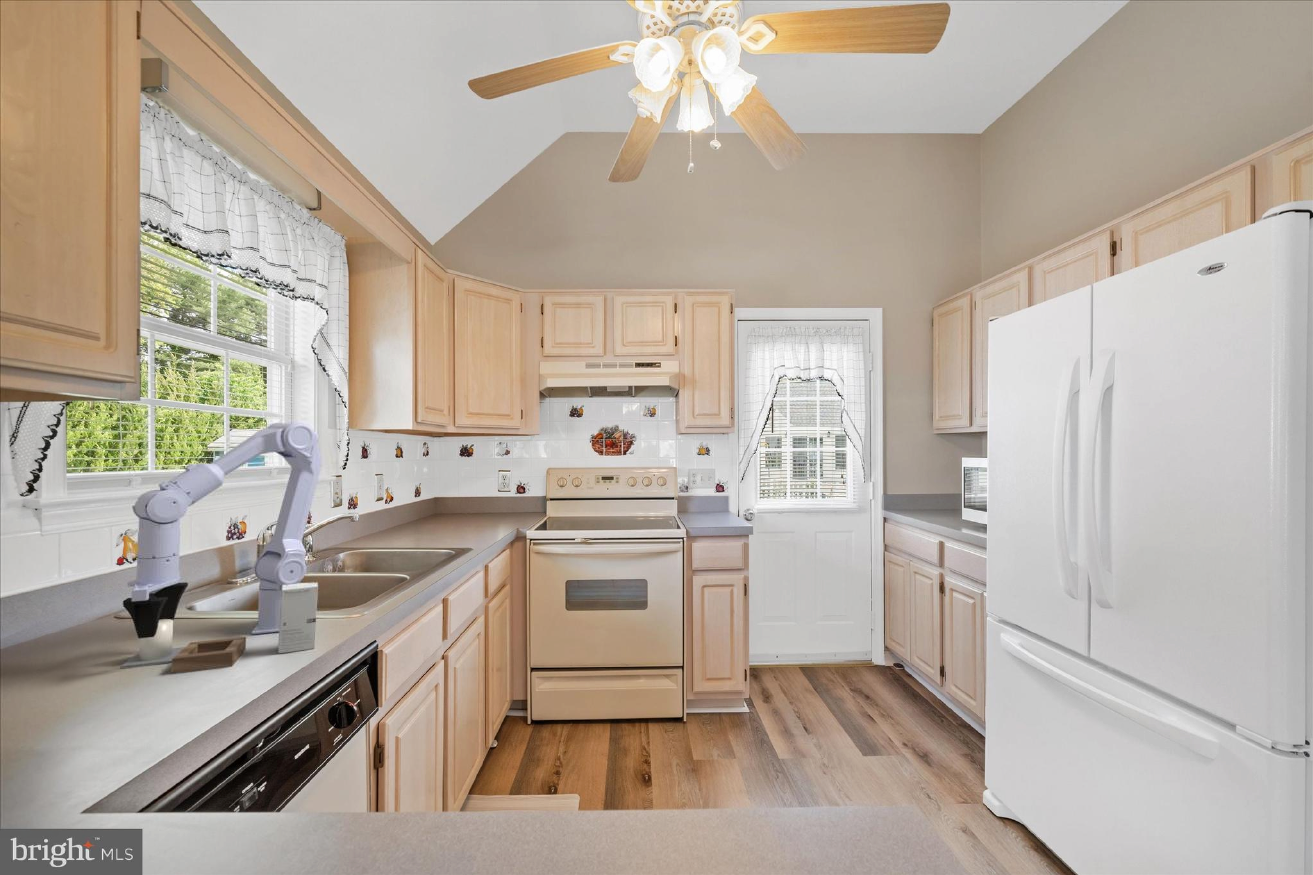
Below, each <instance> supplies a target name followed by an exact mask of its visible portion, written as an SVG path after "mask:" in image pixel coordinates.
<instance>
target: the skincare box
mask: <svg viewBox="0 0 1313 875" xmlns="http://www.w3.org/2000/svg"><path fill="white" fill-rule="evenodd" d="M318 590H319V585H318V581H315V582H300V583H297V584H288V585H282V591H281V608H280V624H279V632H278V647H277V654H284V653H291V652H299V651H305V650H306V651H307V650H312V649H314V648H316V646H315V645H316V626H317V611H318V610H317V609H318V608H317V607H318V595H319V592H318Z"/></svg>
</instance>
